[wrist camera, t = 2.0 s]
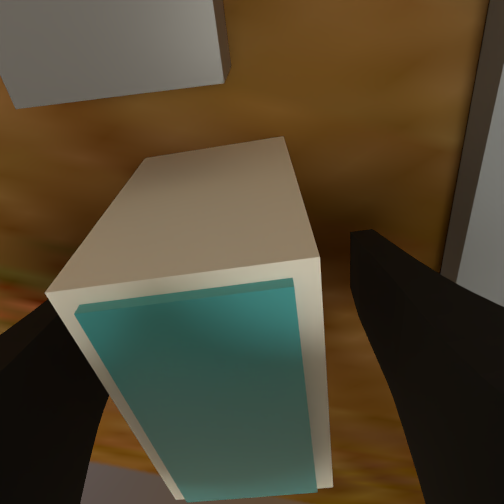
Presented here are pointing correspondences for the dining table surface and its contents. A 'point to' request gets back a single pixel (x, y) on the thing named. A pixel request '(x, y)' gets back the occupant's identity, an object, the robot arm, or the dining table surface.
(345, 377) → the dining table surface
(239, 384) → the block
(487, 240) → the board
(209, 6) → the block
